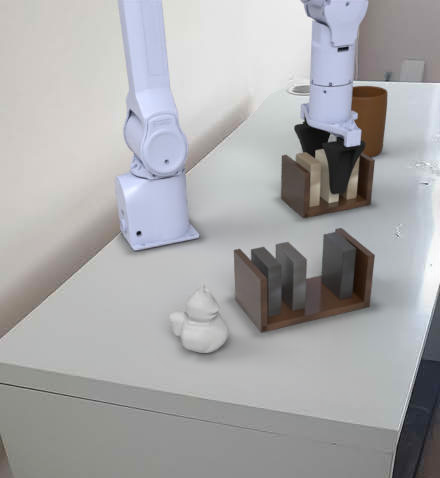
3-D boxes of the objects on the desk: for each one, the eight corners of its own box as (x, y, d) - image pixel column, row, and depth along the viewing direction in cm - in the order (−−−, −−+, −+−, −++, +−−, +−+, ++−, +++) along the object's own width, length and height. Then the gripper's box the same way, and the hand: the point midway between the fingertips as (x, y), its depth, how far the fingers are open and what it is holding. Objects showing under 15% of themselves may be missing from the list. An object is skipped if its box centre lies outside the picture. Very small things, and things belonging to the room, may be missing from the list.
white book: (328, 203, 104) (331, 160, 100) (313, 191, 107) (315, 150, 103) (338, 201, 104) (341, 159, 100) (323, 189, 108) (325, 148, 104)
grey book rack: (261, 332, 80) (260, 276, 75) (235, 300, 85) (233, 246, 81) (369, 306, 83) (375, 251, 78) (337, 277, 89) (341, 224, 84)
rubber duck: (218, 365, 75) (214, 297, 70) (162, 354, 77) (154, 287, 72) (237, 339, 79) (234, 272, 74) (182, 329, 81) (176, 263, 76)
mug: (307, 157, 121) (309, 97, 115) (315, 142, 126) (317, 84, 120) (380, 160, 118) (386, 98, 112) (384, 145, 123) (390, 85, 117)
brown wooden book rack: (303, 218, 102) (305, 170, 98) (280, 199, 108) (281, 152, 103) (370, 205, 105) (375, 157, 100) (345, 186, 110) (348, 140, 106)
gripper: (385, 89, 91) (375, 195, 100) (333, 65, 102) (328, 163, 111) (335, 97, 90) (329, 204, 99) (288, 72, 100) (286, 171, 109)
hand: (326, 183), depth 105 cm, fingers open, 7 cm apart
